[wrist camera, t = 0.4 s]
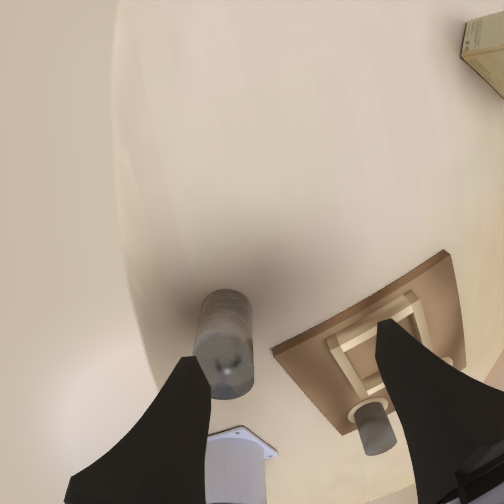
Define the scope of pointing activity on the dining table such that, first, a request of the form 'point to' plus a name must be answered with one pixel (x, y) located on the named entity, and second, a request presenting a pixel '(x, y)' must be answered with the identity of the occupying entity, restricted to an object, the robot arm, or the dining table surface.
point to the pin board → (363, 350)
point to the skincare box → (486, 48)
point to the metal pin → (226, 344)
